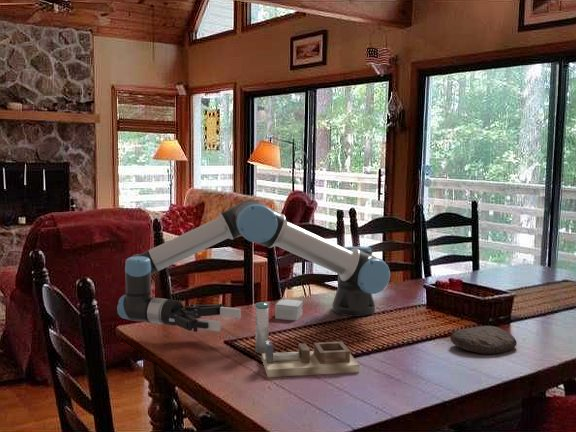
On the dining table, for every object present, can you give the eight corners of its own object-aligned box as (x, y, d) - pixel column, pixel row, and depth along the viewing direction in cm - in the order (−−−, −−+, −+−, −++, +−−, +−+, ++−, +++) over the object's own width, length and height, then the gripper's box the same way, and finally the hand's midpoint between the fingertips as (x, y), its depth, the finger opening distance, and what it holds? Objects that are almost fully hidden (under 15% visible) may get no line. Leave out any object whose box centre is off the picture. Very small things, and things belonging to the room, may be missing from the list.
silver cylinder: (267, 349, 174) (267, 301, 173) (269, 353, 171) (269, 305, 169) (254, 349, 174) (255, 302, 172) (256, 354, 170) (256, 305, 169)
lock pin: (297, 356, 163) (297, 339, 162) (299, 361, 159) (299, 344, 158) (265, 358, 161) (265, 341, 161) (267, 362, 158) (267, 345, 157)
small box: (296, 321, 203) (297, 306, 202) (274, 318, 205) (274, 304, 205) (302, 314, 211) (303, 300, 210) (281, 312, 213) (281, 298, 212)
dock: (346, 356, 170) (347, 337, 169) (359, 372, 158) (359, 352, 157) (261, 360, 165) (261, 341, 165) (267, 377, 154) (268, 356, 153)
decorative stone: (479, 361, 167) (480, 343, 167) (441, 346, 179) (442, 329, 179) (525, 349, 178) (526, 332, 177) (486, 336, 190) (487, 320, 189)
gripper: (187, 313, 194) (247, 320, 187) (142, 336, 171) (210, 345, 163) (186, 290, 193) (248, 297, 186) (142, 310, 170) (210, 318, 163)
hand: (230, 319), depth 175 cm, fingers open, 13 cm apart
